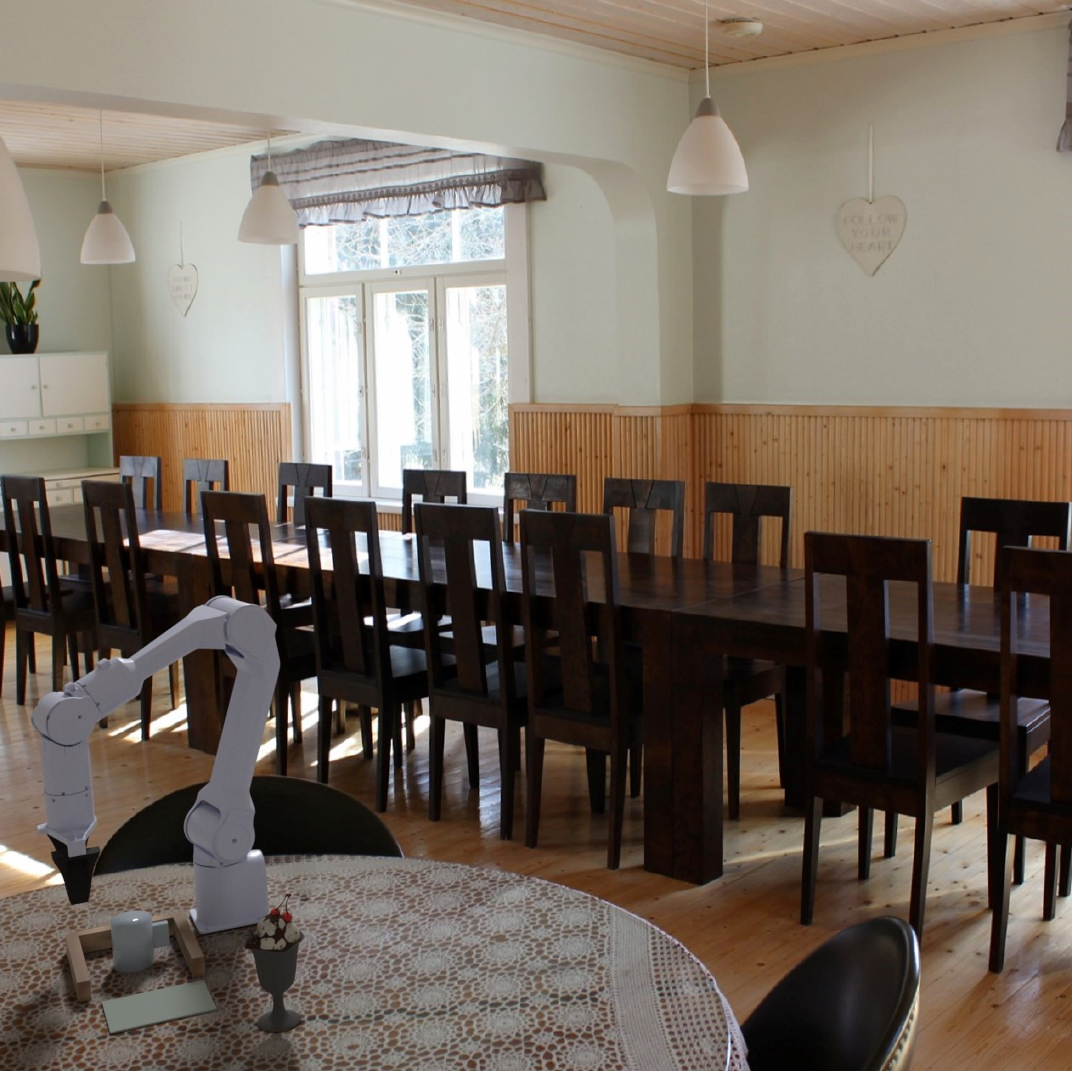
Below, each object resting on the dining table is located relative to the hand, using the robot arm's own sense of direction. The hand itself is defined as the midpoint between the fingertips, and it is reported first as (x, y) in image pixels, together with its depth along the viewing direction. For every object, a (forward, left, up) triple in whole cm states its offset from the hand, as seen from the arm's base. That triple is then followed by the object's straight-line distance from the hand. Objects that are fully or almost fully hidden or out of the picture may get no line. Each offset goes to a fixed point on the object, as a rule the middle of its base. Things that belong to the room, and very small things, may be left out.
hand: (76, 891), depth 165 cm
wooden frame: (-6, +3, -10) cm, 12 cm away
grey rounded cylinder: (-6, +3, -10) cm, 12 cm away
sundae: (-19, +26, -10) cm, 34 cm away
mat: (-7, +16, -10) cm, 20 cm away
